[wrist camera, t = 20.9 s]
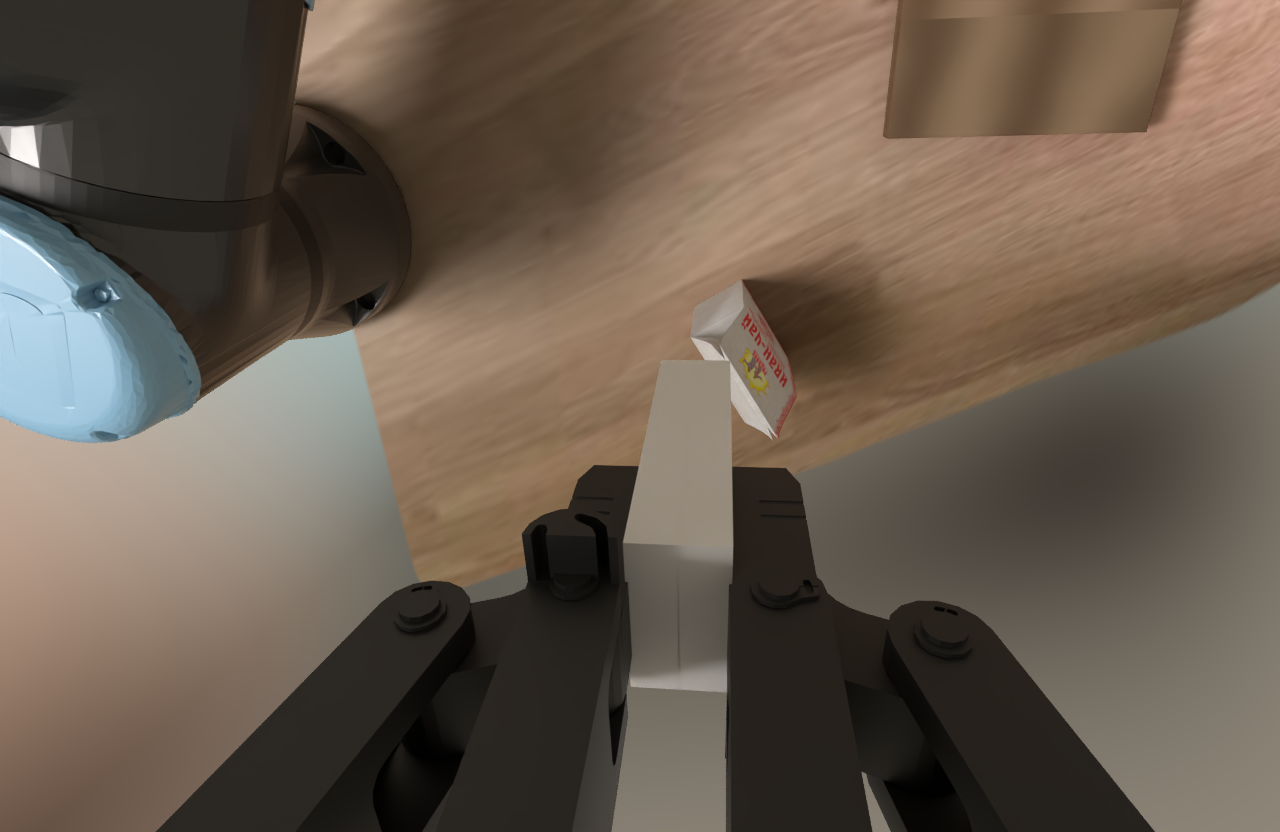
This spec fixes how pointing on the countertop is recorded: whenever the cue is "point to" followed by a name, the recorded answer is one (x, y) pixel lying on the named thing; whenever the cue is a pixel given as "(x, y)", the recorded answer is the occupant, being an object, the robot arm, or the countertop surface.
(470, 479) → the countertop surface
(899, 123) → the floorboard
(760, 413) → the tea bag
